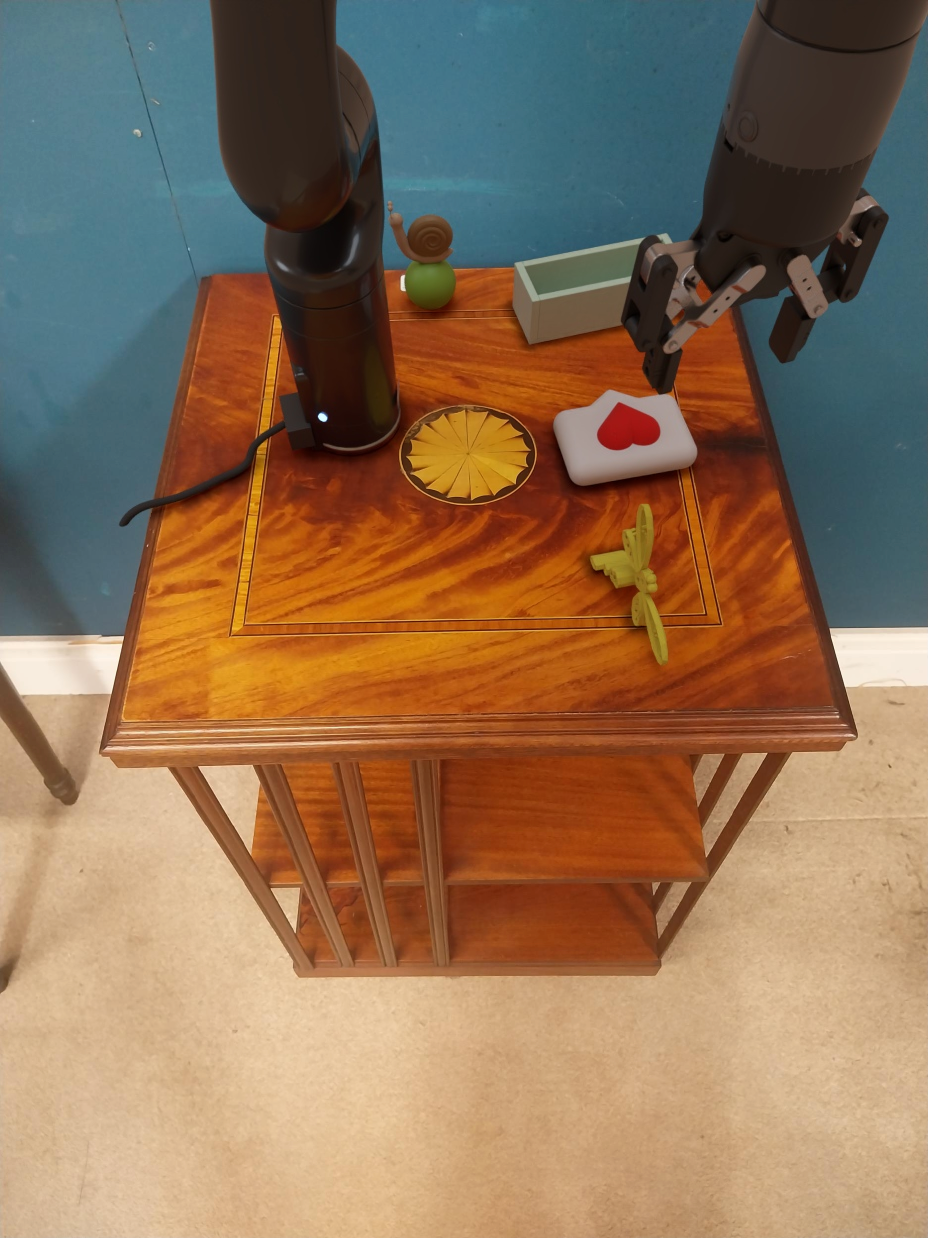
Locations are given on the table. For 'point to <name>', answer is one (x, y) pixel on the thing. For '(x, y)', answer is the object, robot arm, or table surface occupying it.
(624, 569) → the decorative insect
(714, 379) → the table surface
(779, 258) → the robot arm
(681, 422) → the icon
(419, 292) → the snail figurine
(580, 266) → the slot tray
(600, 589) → the table surface
